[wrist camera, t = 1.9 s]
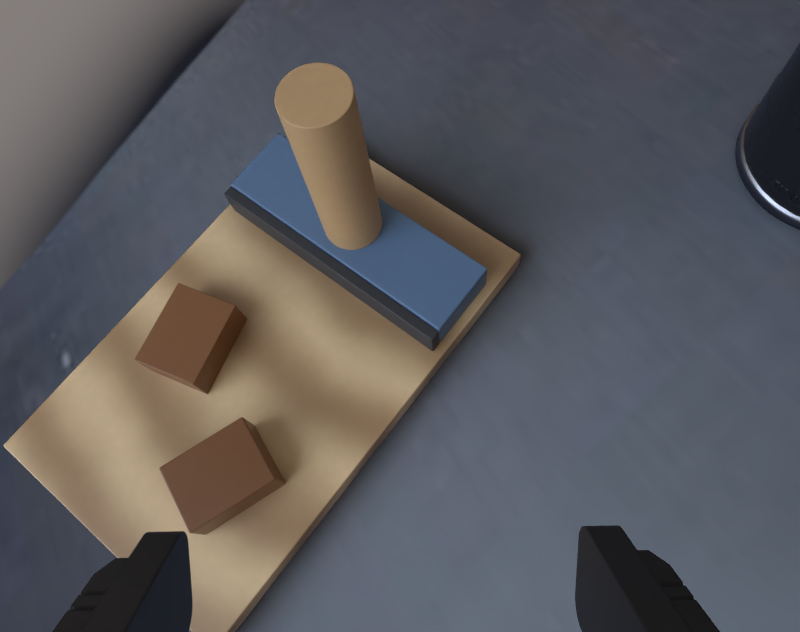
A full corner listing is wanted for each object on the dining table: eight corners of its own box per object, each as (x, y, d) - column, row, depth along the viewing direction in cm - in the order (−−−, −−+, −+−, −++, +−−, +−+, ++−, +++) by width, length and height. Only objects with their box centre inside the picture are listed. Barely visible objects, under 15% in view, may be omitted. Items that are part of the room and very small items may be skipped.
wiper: (287, 153, 38) (216, -19, 27) (486, 284, 34) (501, 148, 23) (234, 210, 37) (137, 56, 26) (432, 352, 33) (421, 244, 22)
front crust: (254, 424, 32) (242, 416, 31) (286, 483, 31) (275, 478, 29) (175, 473, 32) (158, 467, 30) (205, 535, 31) (189, 533, 29)
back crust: (192, 297, 35) (177, 282, 33) (247, 318, 34) (235, 304, 33) (151, 370, 34) (133, 359, 32) (207, 394, 33) (193, 384, 31)
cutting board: (314, 135, 40) (308, 119, 39) (519, 266, 36) (521, 254, 34) (20, 450, 34) (2, 445, 33) (223, 648, 30) (211, 652, 29)
